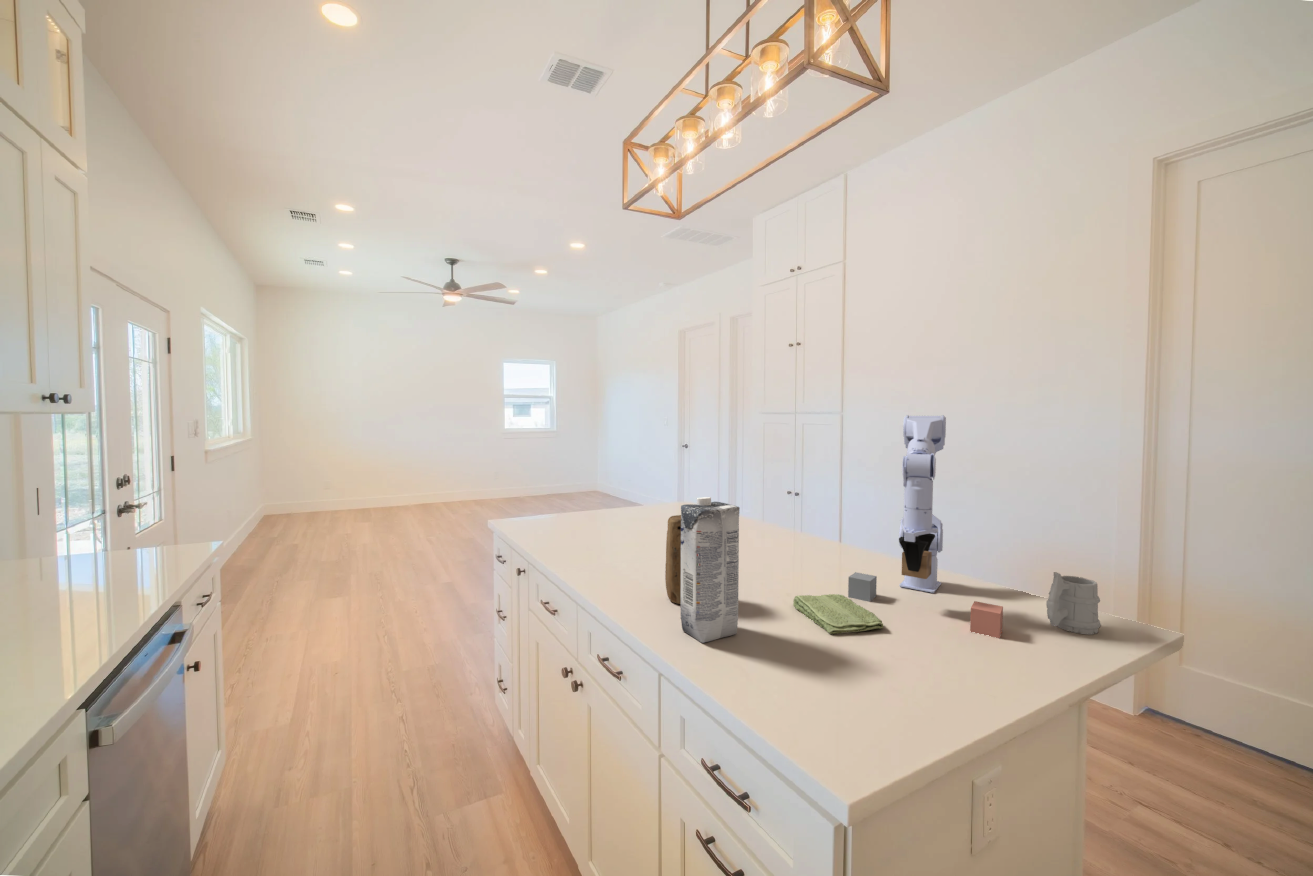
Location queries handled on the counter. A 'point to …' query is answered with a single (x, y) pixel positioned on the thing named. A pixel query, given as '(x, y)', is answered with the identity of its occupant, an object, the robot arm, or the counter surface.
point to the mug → (1073, 604)
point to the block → (673, 559)
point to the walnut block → (924, 568)
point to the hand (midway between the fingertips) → (916, 567)
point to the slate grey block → (862, 586)
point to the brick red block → (986, 619)
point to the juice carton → (709, 569)
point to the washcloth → (836, 613)
